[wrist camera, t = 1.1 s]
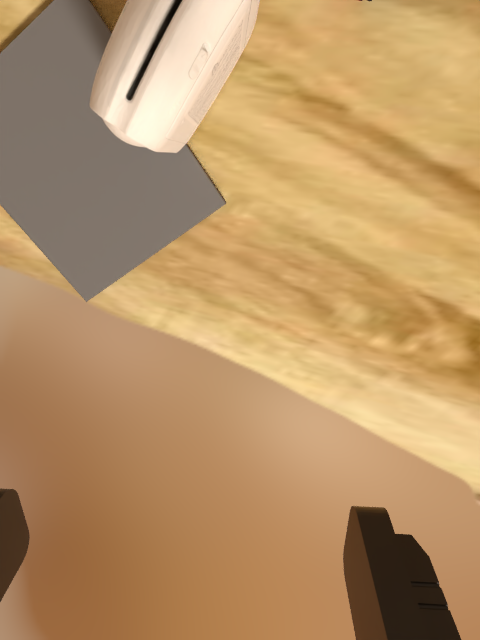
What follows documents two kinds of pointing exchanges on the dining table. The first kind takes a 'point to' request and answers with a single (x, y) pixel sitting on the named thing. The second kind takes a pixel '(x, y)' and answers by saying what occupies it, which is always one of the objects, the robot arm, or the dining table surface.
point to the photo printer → (168, 67)
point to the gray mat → (85, 159)
